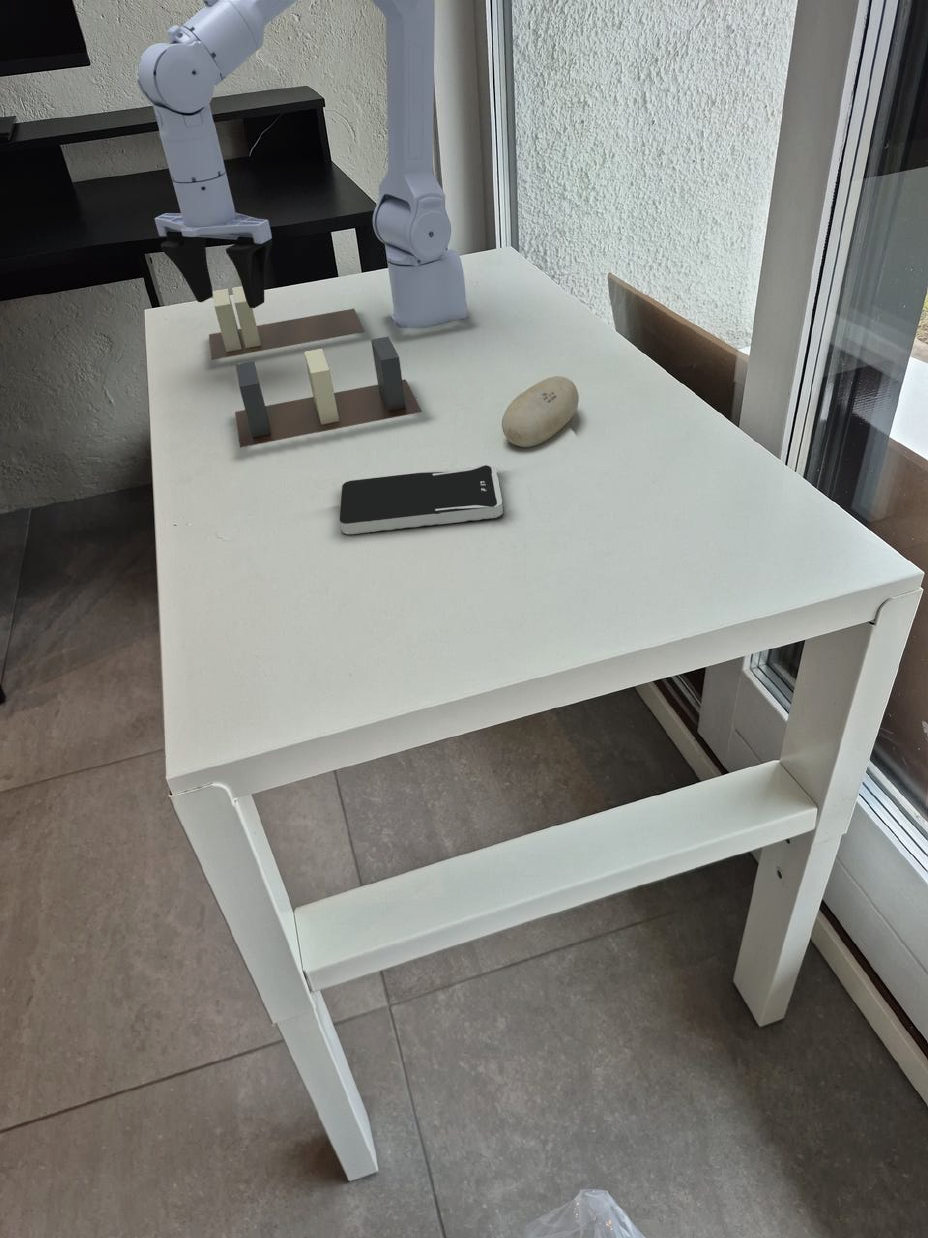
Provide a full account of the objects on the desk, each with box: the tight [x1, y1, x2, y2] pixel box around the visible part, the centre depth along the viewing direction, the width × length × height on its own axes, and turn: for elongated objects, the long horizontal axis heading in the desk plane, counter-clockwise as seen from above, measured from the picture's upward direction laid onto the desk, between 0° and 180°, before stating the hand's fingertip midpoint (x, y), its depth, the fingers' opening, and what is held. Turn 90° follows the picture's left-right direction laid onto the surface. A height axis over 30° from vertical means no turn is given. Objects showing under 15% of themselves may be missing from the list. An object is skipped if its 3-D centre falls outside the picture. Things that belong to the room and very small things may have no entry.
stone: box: [501, 375, 580, 448], centre depth 93 cm, size 6×6×12 cm
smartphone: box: [339, 464, 504, 536], centre depth 85 cm, size 8×1×15 cm
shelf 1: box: [208, 308, 366, 361], centre depth 120 cm, size 20×9×1 cm, turn 105°
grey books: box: [235, 336, 406, 438], centre depth 99 cm, size 17×6×6 cm, turn 105°
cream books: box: [212, 285, 261, 352], centre depth 117 cm, size 4×6×6 cm
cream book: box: [303, 348, 339, 425], centre depth 99 cm, size 2×6×6 cm, turn 15°
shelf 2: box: [234, 378, 423, 449], centre depth 101 cm, size 20×9×1 cm, turn 105°
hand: (230, 301), depth 105 cm, fingers open, 7 cm apart
